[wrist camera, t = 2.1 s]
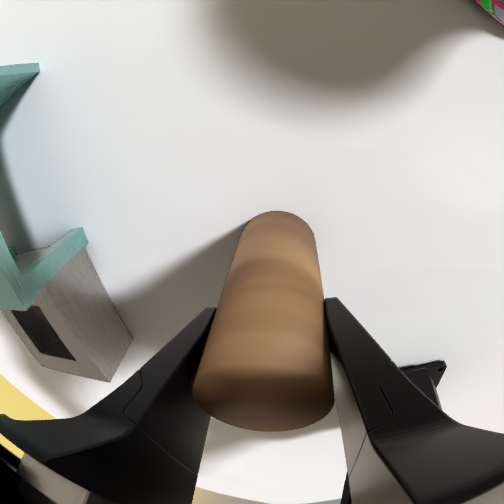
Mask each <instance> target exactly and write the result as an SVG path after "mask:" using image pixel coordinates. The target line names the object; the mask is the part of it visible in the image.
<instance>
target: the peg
mask: <svg viewBox="0 0 504 504" xmlns="http://www.w3.org/2000/svg"><path fill="white" fill-rule="evenodd" d="M192 392H193V397H194V399H195V401H196V403H197V404H198V405H199V406H200V407H201V408H202V409H203V410H204V411H205V412H206V413H208V414H209V415H211V416H212V417H214V418H216V419H218V420H220V421H222V422H224V423H227V424H230V425H233V426H236V427H240V428H244V429H249V430H256V431H287V430H293V429H298V428H302V427H305V426H308V425H311V424H313V423H315V422H317V421H319V420H321V419H322V418H324V417H325V416H326V415H327V414H328V413H329V412H330V411H331V409H332V407H333V405H334V401H335V400H334V386H333V374H332V363H331V353H330V344H329V337H328V330H327V321H326V313H325V305H324V295H323V288H322V281H321V274H320V268H319V261H318V255H317V249H316V243H315V237H314V234H313V232H312V230H311V228H310V227H309V226H308V224H307V223H306V222H305V221H304V220H302V219H301V218H299V217H298V216H296V215H294V214H291V213H288V212H284V211H270V212H266V213H263V214H260V215H258V216H256V217H255V218H253V219H252V220H251V221H250V222H249V223H248V224H247V225H246V226H245V228H244V229H243V231H242V234H241V237H240V240H239V243H238V246H237V249H236V252H235V255H234V258H233V261H232V264H231V267H230V270H229V273H228V276H227V280H226V283H225V286H224V289H223V292H222V295H221V298H220V301H219V304H218V307H217V311H216V314H215V317H214V320H213V323H212V326H211V330H210V333H209V336H208V339H207V342H206V345H205V349H204V352H203V355H202V358H201V361H200V365H199V368H198V371H197V374H196V378H195V381H194V384H193V389H192Z"/></svg>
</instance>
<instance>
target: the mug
mask: <svg viewBox="0 0 504 504" xmlns="http://www.w3.org/2000/svg"><path fill="white" fill-rule="evenodd" d="M476 1H477V2H478V3H479V4H480V5H481V6H482V7H483V8H484V9H485V10H486V11H487V12H488V13H489V14H490V15H492V16H493V17H494V18H495V19H496V20H498V21H499V22H500V23H502V24H503V25H504V0H476Z"/></svg>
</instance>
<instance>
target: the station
mask: <svg viewBox="0 0 504 504" xmlns="http://www.w3.org/2000/svg"><path fill="white" fill-rule="evenodd" d="M38 72H40V71H39V63H28V64H15V65H6V66H0V107H1V106H2V105H3V104H4V103H5V102H6V101H7V100H8V99H9V98H10V97H11V96H12V95H13V94H14V93H15V92H16V91H17V90H18V89H20V88H21V87H22V86H23V85H24V84H25V83H26V82H28V81H29V80H30V79H31V78H32V77H34V76H35V75H36V74H37V73H38ZM86 244H88V240H87V238H86V236H85V233H84V231H83V228H82V227H81V228H77V229H73V230H71V231H69V232H68V233H67V234H66V235H64V236H63V237H62V238H61V239H60V240H58V241H57V242H56V243H55V244H53V245H52V246H49V247H45V248H41V249H37V250H33V251H29V252H25V253H21V254H18V255H17V256H16V254H15V252H14V249H13V247H10V248H8V247H7V245H6V243H5V240H4V238H3V236H2V233H1V231H0V309H1V310H2V312H3V313H4V315H5V316H6V318H7V319H8V321H9V322H10V324H11V325H12V327H13V328H14V330H15V331H16V333H17V334H18V336H19V337H20V338H21V340H22V341H23V343H24V344H25V345H26V347H27V348H28V349H29V350H30V352H31V353H32V354H33V356H34V357H35V358H36V359H37V361H38V362H39V363H40V364H41V366H44V367H47V368H51V369H54V370H58V371H61V372H65V373H69V374H73V375H77V376H82V377H86V378H91V379H95V380H100V381H105V382H111V380H112V378H113V376H114V374H115V372H116V370H117V368H118V366H119V364H120V362H121V360H122V359H123V357H124V355H125V353H126V351H127V349H128V347H129V346H130V344H131V342H132V340H133V338H132V337H131V335H130V334H129V332H128V330H127V329H126V327H125V325H124V323H123V322H122V320H121V318H120V316H119V315H118V313H117V311H116V309H115V308H114V306H113V304H112V302H111V300H110V298H109V297H108V295H107V293H106V291H105V289H104V287H103V285H102V283H101V281H100V279H99V277H98V275H97V273H96V271H95V269H94V267H93V265H92V263H91V260H90V258H89V256H88V254H87V252H86V249H85V247H84V246H85V245H86Z"/></svg>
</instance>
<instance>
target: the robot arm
mask: <svg viewBox="0 0 504 504" xmlns="http://www.w3.org/2000/svg"><path fill="white" fill-rule="evenodd" d="M324 305H325V313H326V321H327V330H328V337H329V344H330V353H331V363H332V374H333V386H334V393H335V398H336V404H337V409H338V415H339V420H340V426H341V432H342V438H343V444H344V450H345V457H346V463H347V470H348V471H347V475H346V480H345V483H344V489H343V494H342V499H341V504H504V434H502V433H497V432H492V431H487V430H483V429H478V428H474V427H470V426H466V425H463V424H461V423H458V422H457V421H455V420H453V419H452V418H450V417H449V416H448V415H447V414H446V413H444V412H443V411H442V408H441V404H440V401H439V397H438V394H437V391H436V387H437V385H438V384H439V382H440V380H441V378H442V376H443V374H444V371H445V369H446V367H447V366H446V363H445V361H439V362H435V363H431V364H427V365H423V366H418V367H414V368H409V369H404V370H400V369H399V368H398V367H397V365H396V364H395V363H394V362H393V361H391V358H390V357H389V356H388V355H387V354H386V353H385V351H384V350H383V349H382V348H381V347H380V346H379V345H378V343H377V342H376V341H375V340H374V339H373V338H372V336H371V335H370V334H369V333H368V332H367V331H366V330H365V328H364V327H363V326H362V325H361V324H360V323H359V322H358V320H357V319H356V318H355V317H354V316H353V315H352V314H351V313H350V311H349V310H348V309H347V308H346V307H345V306H344V305H343V304H342V303H341V301H340V300H339V299H338V298H336V297H332V298H325V300H324ZM216 311H217V308H206V309H204V310H203V311H202V312H201V313H200V314H199V315H198V316H197V317H196V318H195V319H194V320H192V321H191V322H190V323H189V324H188V325H187V326H186V327H185V328H184V329H183V330H182V331H181V332H179V333H178V334H177V335H176V336H175V337H174V338H173V339H172V340H171V341H170V342H169V343H167V344H166V345H165V346H164V347H163V348H162V349H161V350H160V351H159V352H158V353H157V354H155V355H154V356H153V357H152V358H151V359H150V360H149V361H148V362H147V363H146V364H144V365H143V366H142V367H141V368H140V370H138V371H137V372H136V373H134V374H133V375H132V376H131V377H130V378H129V379H128V380H126V381H125V382H124V383H123V384H122V385H121V386H119V387H118V388H117V389H115V390H114V391H113V392H112V393H110V394H109V395H108V396H106V397H105V398H104V399H102V400H101V401H100V402H98V403H97V404H95V405H94V406H93V407H91V408H90V409H89V410H87V411H86V412H84V413H83V414H81V415H79V416H76V417H73V418H67V419H53V420H32V421H22V420H14V419H11V418H9V417H8V416H6V415H5V414H0V433H1V434H2V435H3V436H4V437H6V438H7V439H8V440H9V441H11V442H12V443H13V444H15V445H16V446H17V447H18V448H20V449H21V450H22V451H24V452H25V453H24V455H23V457H22V459H20V458H19V457H17V456H16V455H15V454H13V453H12V452H11V451H9V450H8V449H7V448H5V447H4V446H3V445H2V444H0V504H192V500H193V495H194V491H195V486H196V481H197V477H198V472H199V467H200V462H201V458H202V453H203V449H204V444H205V440H206V435H207V431H208V426H209V422H210V417H211V415H209V414H208V413H206V412H205V411H204V410H203V409H202V408H201V407H200V406H199V405H198V404H197V403H196V401H195V399H194V397H193V392H192V389H193V384H194V381H195V378H196V374H197V371H198V368H199V365H200V361H201V358H202V355H203V352H204V349H205V345H206V342H207V339H208V336H209V333H210V330H211V326H212V323H213V320H214V317H215V314H216Z"/></svg>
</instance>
